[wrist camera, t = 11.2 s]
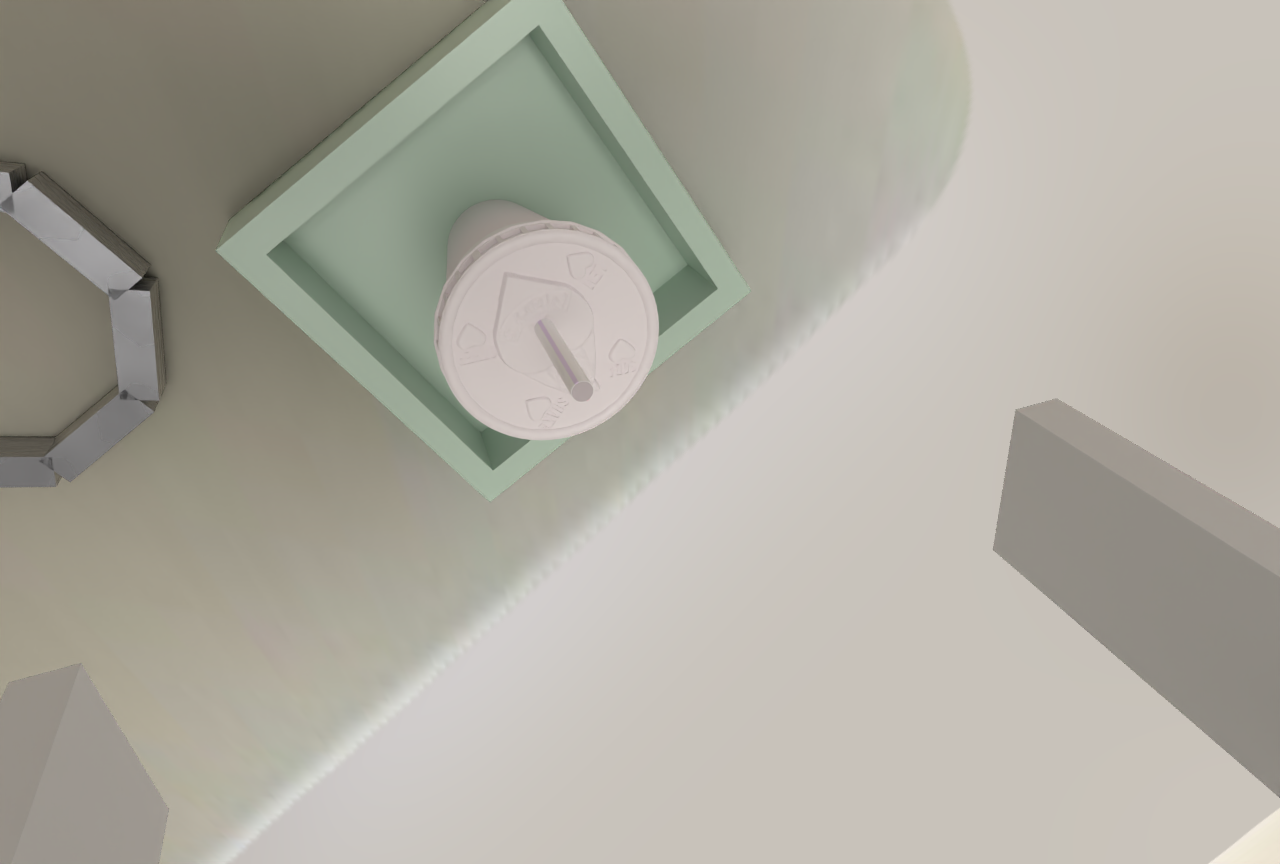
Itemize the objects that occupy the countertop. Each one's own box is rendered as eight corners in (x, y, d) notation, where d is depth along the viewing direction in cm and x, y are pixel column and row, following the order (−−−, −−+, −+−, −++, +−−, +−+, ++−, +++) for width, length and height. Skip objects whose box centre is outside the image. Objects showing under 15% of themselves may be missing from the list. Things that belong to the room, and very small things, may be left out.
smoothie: (521, 125, 30) (644, 219, 18) (609, 270, 33) (760, 428, 21) (371, 225, 30) (396, 386, 18) (475, 360, 33) (552, 567, 21)
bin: (229, 219, 29) (215, 251, 25) (519, -26, 28) (544, -28, 25) (475, 454, 36) (489, 502, 33) (711, 261, 35) (751, 291, 32)
